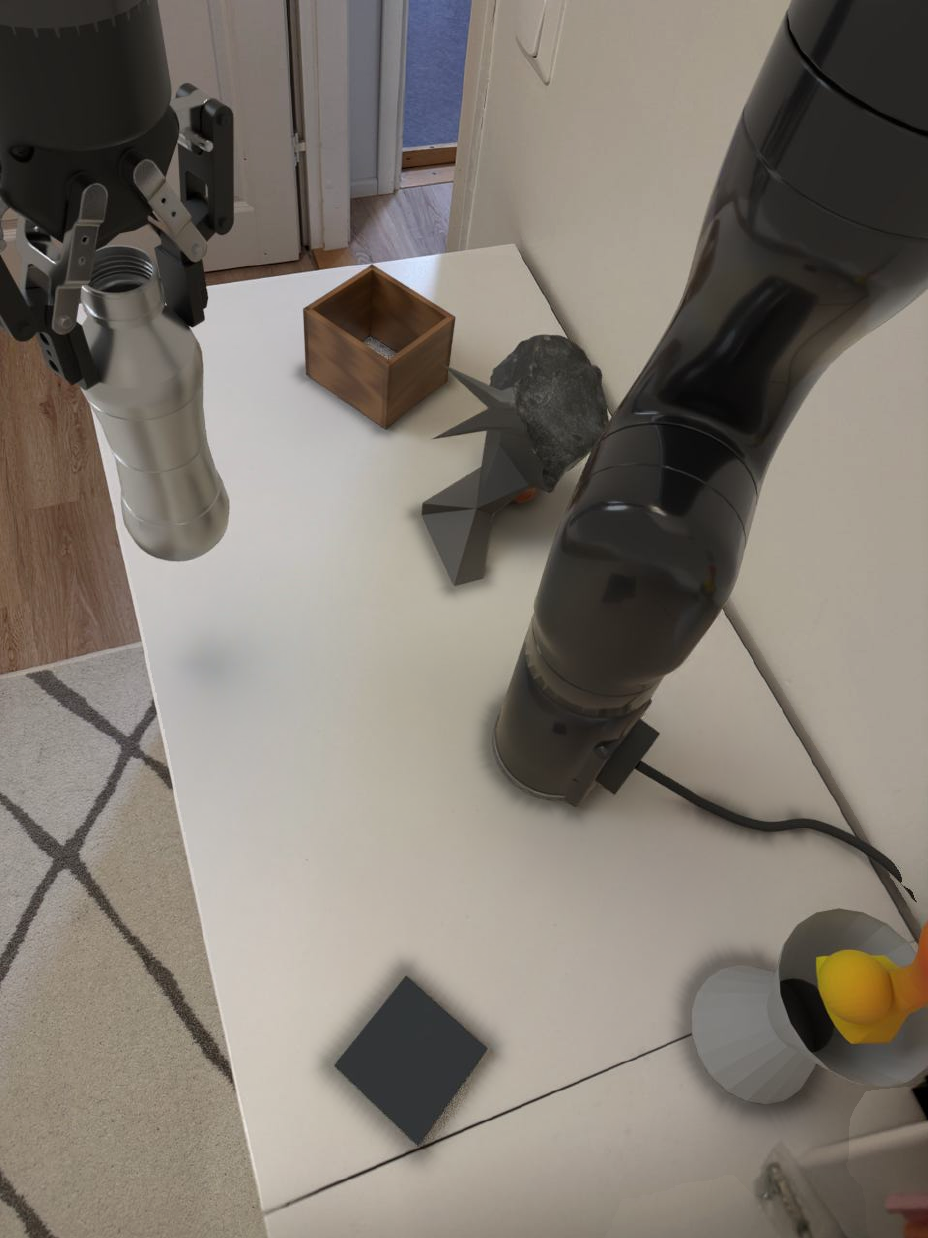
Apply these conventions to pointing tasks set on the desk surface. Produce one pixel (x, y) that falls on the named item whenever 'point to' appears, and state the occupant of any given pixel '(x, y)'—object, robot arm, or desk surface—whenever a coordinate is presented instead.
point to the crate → (391, 319)
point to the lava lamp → (818, 1010)
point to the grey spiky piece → (517, 443)
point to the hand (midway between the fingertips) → (135, 345)
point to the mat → (411, 1059)
